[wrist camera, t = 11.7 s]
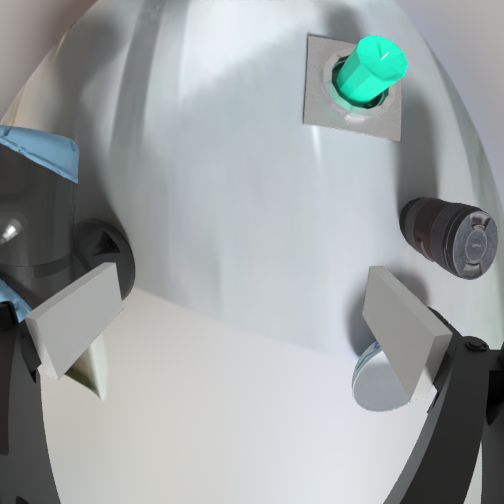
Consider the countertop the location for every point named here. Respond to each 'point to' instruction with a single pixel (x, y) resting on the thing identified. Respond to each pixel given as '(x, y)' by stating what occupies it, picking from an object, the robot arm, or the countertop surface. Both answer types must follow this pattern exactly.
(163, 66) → the countertop surface
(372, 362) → the chinaware
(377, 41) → the candle
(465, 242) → the camera lens
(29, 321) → the robot arm
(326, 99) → the duct flange
